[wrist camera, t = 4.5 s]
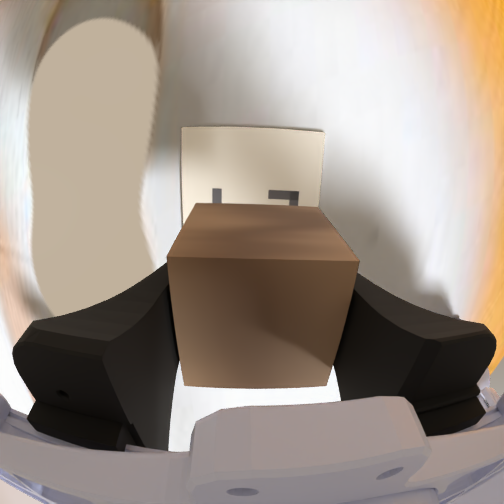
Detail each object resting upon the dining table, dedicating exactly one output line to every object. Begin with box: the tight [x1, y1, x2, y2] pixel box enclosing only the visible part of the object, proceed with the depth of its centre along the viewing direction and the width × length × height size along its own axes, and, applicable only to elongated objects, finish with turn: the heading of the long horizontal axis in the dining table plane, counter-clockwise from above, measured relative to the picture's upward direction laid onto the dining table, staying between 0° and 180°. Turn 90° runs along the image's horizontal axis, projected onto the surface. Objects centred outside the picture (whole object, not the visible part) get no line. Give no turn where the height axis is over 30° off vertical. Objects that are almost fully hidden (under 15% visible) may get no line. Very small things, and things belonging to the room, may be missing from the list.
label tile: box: [181, 127, 325, 225], centre depth 20 cm, size 9×11×1 cm
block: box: [167, 203, 359, 389], centre depth 11 cm, size 5×5×5 cm
